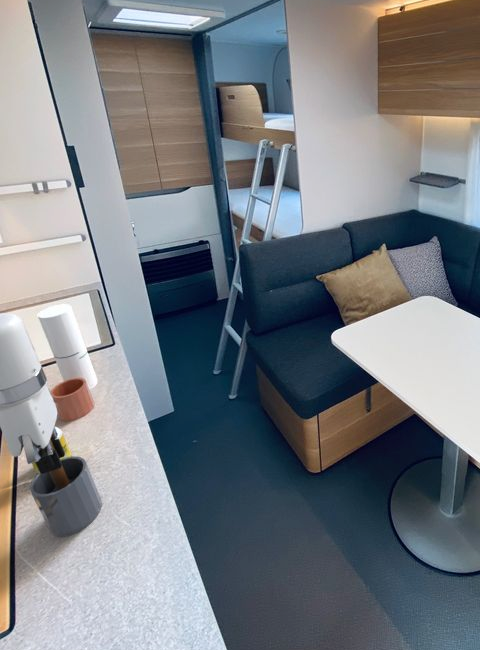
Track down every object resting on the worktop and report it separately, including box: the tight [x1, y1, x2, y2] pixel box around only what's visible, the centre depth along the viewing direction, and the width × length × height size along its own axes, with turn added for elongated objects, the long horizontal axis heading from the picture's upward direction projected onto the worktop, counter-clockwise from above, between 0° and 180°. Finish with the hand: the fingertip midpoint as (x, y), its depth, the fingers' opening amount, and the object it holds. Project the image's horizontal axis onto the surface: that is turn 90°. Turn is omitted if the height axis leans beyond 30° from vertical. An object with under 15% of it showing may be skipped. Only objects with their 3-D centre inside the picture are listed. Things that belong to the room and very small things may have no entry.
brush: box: [38, 439, 74, 493], centre depth 77 cm, size 4×4×18 cm
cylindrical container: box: [37, 303, 98, 390], centre depth 112 cm, size 7×7×25 cm
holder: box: [49, 378, 95, 422], centre depth 106 cm, size 8×8×8 cm
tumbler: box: [29, 455, 103, 538], centre depth 79 cm, size 9×9×11 cm
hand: (53, 463), depth 76 cm, fingers closed on brush, 2 cm apart
